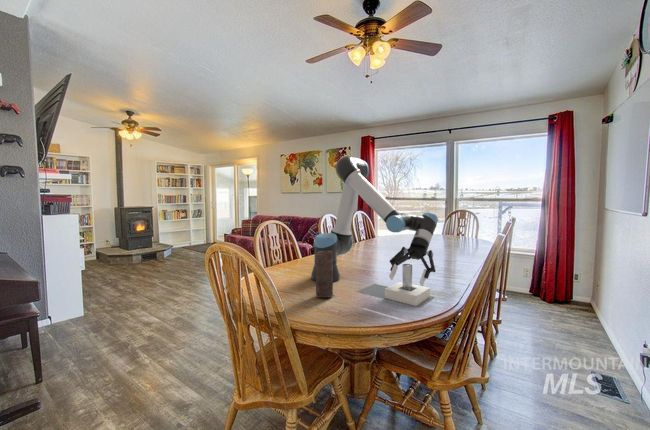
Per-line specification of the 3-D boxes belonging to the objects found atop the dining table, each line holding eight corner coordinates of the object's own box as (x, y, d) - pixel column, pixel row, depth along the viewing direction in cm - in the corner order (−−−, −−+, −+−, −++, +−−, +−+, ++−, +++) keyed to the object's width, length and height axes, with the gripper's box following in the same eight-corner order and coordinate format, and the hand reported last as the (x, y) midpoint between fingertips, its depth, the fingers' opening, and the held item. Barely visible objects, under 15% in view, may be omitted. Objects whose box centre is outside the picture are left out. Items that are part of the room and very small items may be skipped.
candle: (331, 300, 126) (331, 253, 125) (313, 299, 128) (314, 252, 126) (334, 294, 134) (334, 250, 132) (317, 293, 135) (318, 249, 134)
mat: (356, 292, 137) (356, 291, 137) (374, 284, 149) (374, 283, 149) (420, 309, 117) (420, 307, 117) (435, 298, 129) (435, 297, 129)
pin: (400, 297, 129) (400, 265, 128) (405, 295, 132) (405, 263, 131) (409, 299, 126) (409, 266, 125) (413, 296, 130) (413, 264, 129)
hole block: (384, 297, 128) (384, 288, 128) (399, 290, 139) (400, 281, 139) (416, 305, 119) (416, 296, 119) (429, 296, 130) (430, 287, 130)
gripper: (451, 249, 131) (437, 292, 121) (398, 243, 148) (382, 280, 137) (447, 239, 127) (432, 281, 117) (393, 233, 143) (376, 271, 133)
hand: (405, 281), depth 127 cm, fingers open, 13 cm apart
